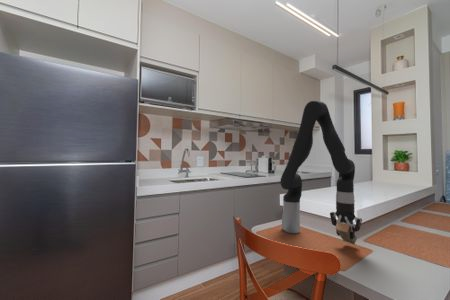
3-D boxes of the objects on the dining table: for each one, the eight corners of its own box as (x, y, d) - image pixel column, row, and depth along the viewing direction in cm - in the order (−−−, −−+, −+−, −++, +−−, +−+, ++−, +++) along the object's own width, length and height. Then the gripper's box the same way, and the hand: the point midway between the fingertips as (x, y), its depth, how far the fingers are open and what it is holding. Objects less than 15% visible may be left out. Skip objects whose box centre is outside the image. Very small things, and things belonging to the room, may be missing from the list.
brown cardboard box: (343, 240, 101) (335, 228, 97) (345, 234, 103) (337, 221, 98) (354, 244, 97) (346, 231, 93) (356, 238, 99) (348, 224, 94)
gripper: (326, 199, 101) (326, 234, 101) (357, 205, 90) (358, 244, 89) (334, 197, 106) (334, 230, 105) (365, 203, 94) (366, 240, 93)
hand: (345, 237), depth 97 cm, fingers closed on brown cardboard box, 5 cm apart
